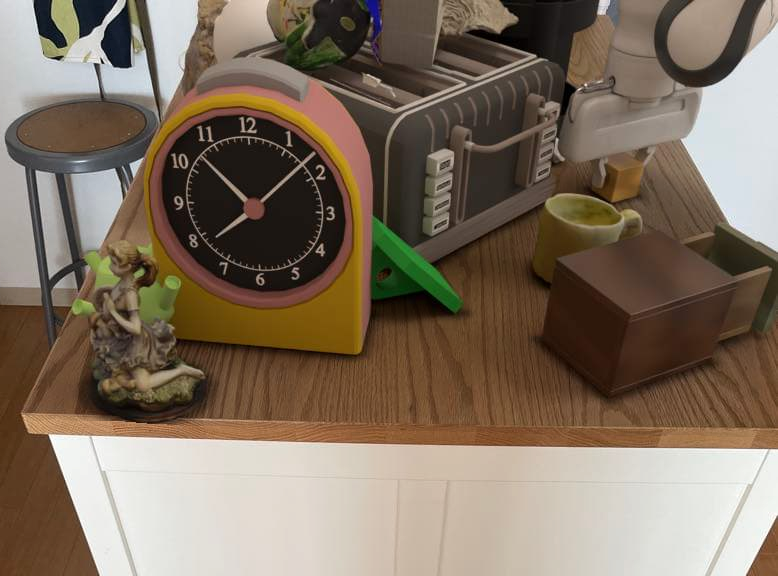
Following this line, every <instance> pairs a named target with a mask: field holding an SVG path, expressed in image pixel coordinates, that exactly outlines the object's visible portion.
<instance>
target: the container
mask: <svg viewBox="0 0 778 576" xmlns="http://www.w3.org/2000/svg"><path fill="white" fill-rule="evenodd" d="M600 1H601V0H500V2H501V3H502V4H503V6H504V7H505V8H508V12H509V13H511V14H513V15H514V16H516V17H518V18H519V21H518V22H517V23H516V24H514V25H511V26H508V27H506V28H505V29H503V30H502V31H501V33H500V34H495V33H490V32H488V31H486V30H483V29H477V30H470V31H468V32H466V34H470V35H473V36H476V37H479V38H482V39H486V40H489V41H492V42H495V43H498V44H501V45H505V46H508V47H511V48H514V49H517V50H521V51H524V52H527V53H530V54H533V55H536V57H538V58H542V59H547V60H548V61H550V62H553V63H556V64H558V65H559V66H560V67H561V68H562V70H563V72H564V76H565V88H564V94H563V100H562V106H561V112H560V118H559V124H558V130H557V136H556V137H557V139H558V140H559V136H560V131H561V128H562V124H563V121H564V117H565V114H566V111H567V108H568V106H569V101H570V98H571V95H572V94H574V93H575V91H576V90H577V89H578V87H576V86H575V85H574V84H573V83H571V82H568V81H567V78H568V73H569V66H570V60H571V55H572V54H571V53H572V48H573V41H574V35H575V34H576V33H579V32H582V31H585V30H587V29H588V28H591V26H593V25H594V24H595V23H596V21H597V16H598V13H599V12H598V11H599V7H600Z"/></svg>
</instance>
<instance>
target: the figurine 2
mask: <svg viewBox="0 0 778 576" xmlns="http://www.w3.org/2000/svg"><path fill="white" fill-rule="evenodd" d="M365 3H366V0H269V2H268V5H267V10H266V15H267V20H268V24H269V26H270V28H271V30H272V32H273V33H274V37H275V38H276V39H277V40H278V41H279V42H280V43H283V42H284V43H285V47H286V48H287V51H286V55H285V58H284V64H285V65H287V66H290V67H292V68H293V69H295V70H300V71H315V70H318V69H322V68H326V67H328V66H331V65H333V64H334V63H342V62H345V61H347V60H348V59H350V58H352V57H353V56H354V55H355V54H356V53H357V52H358V51H359V49H360V48H361V47H362V45H363V44H364V42H365V40H366V38H367V35H368V31H369V27H370V22H371V16H372V15H371V13H370V11H369V9H368V8H367V6H366V4H365Z"/></svg>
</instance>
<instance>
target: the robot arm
mask: <svg viewBox="0 0 778 576" xmlns="http://www.w3.org/2000/svg"><path fill="white" fill-rule="evenodd" d="M777 23H778V0H617V20H616V25H615V27H614V30H613V32H612V33H611V37H610V40H609V44H608V49H607V56H606V61H605V66H604V69H603V70H604V71H603V75H602V78H600V79H597V80H594V81H592V80H589V81H585V82H583V83H581V84H580V87H577V90H576V91H575V93H574V94H572V95H571V98H570V101H569V106H568V108H567V111H566V114H565V117H564V121H563V124H562V128H561V131H560V136H559V140H558V145H557V149H558V151H559V153H560V155H561V156H562V157H563V158H565V160H566V161H567V162H569V163H571V164H575V165H577V164H582V163H587V162H589V163H590V166H591V170H592V172H593V173H592V179H591V185H592V184H593V185H594V186H595V187H597V188H602V187H605V186H608V184H609V179H610V174H609V173H608V172H606V171H605V168H604V164H606V163H607V162H608V158H609V156H612V155H616V154H620V153H628V152H632V151H637V152H636V153H635V155H634V157H633V158H635V159H636V160H638V161H640V162H641V163H643V164H644V168H643V172H642V176H641V178H642V177H643V174H644V170H645V166H646V165H647V164H648V162H650V159H651V158H652V156H653V155H654V154H655V152H656V148H657V145H661V144H667V143H669V142H673V141H679V140H682V139H686V138H687V137H688V136H689V135H690V134H691V132H693V130H694V128H695V126H696V123H697V122H696V121H697V119H698V115H699V112H700V107H701V104H702V101H703V100H702V99H703V93H704V92H703V91H704V89H703V88H707V87H711V86H714V85H716V84H718V83H720V82H722V81H723V80H725V79H726V78H727V77H729V76H730V75H731V74H732V73H733V72H734V70H735V69H736V68H737V67H738V66H739V64H740V63H741V62H742V61H743V59H745V57H746V56H747V55H749V54H750V53H751V52H752V51H754V49H755V48H756V47H757V46H758V45H759V44H760V43H761V42H763V40H764V39H765V38H766V37H767V36H768V35H769V34H770V33H771V32H772V31H773V29H774V28H775V26H776V25H777Z"/></svg>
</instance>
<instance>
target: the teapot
mask: <svg viewBox="0 0 778 576" xmlns="http://www.w3.org/2000/svg"><path fill="white" fill-rule="evenodd" d="M135 246H136V247H137V248H138V250H139V252H140V253H148V254H149V255H151V256H152V257H154V253H153V248H152V242H150V243H149V244H148V246H147V247H145V246H140V245H139V246H138V245H135ZM83 260H84V261H85V262H86V264H87V265H88V267H90V269H91V270H92V272H93V274H94V275H95V282H94V289H96V288H98V287H99V286H102V285H105V284H106V285H113V286H115V285H116V284H117V283H118V282H119V280H120V279H121V278H119V277H117V276H114V274H113V272H112V271H111V270H110V269H109V264H110V263H111V260H110V257H109V254H108V255H107V256H106V257H104V258H103V257H101V255H100V254H99V253H98V252H97V251H96V250H95V249H94V250H92V251H89V252H88V253H87V254H86V255H85V256H84V257H83ZM143 274H144V271H143V269H141V270H139V271H138V272H136V273H134V277H135V279H137V278H138V277H140V276H142V275H143ZM180 285H181V282H180V280H179V279H178V278H177V277H176V276H168V277H167V278H166V279H165V282H164V286H163V289H162V287H161V286H160V283H159V280H158V276H157V277H156V281H155V282H154V284H153V285H152V286H151V287H149V288H148V287H142V288H140V290H139V296H140V299H141V304H140V306H139V314H140V319H141V320H142V321H144V322H145V323H147V324H149V323H152V324H153V323H154V321H155V318H156V317H160V318H161V319H162V320H163V321H164V322H166V323H167V322H169V321H170V319H171V318H172V316H173V314H174V307H173V304H174V301H175V299H176V296H177V293H178V291H179V288H180ZM71 309H72V313H73V314H74V315H76V316H81V317H85V318H88V317H89V315H90V314H91V313H92V312H96V310H95V308H94V307H93V304H92V302H89V301H86V300H83V299H81V298H77V299H75V300H74V302H73V303H72V306H71Z"/></svg>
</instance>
